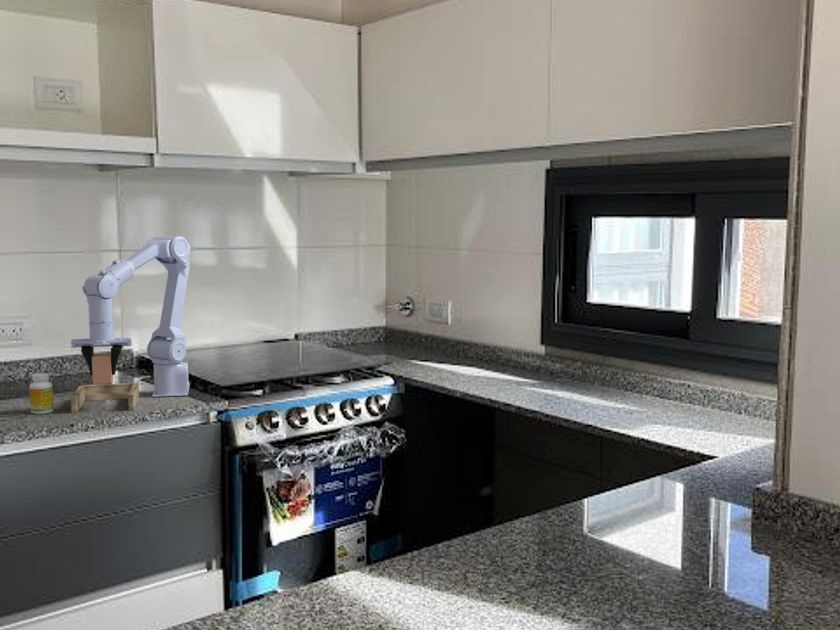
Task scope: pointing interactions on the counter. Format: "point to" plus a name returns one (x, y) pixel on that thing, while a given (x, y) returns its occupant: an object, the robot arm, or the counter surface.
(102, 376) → the block
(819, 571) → the counter surface
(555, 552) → the counter surface
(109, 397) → the wooden u-shaped frame
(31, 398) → the supplement bottle
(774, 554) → the counter surface
